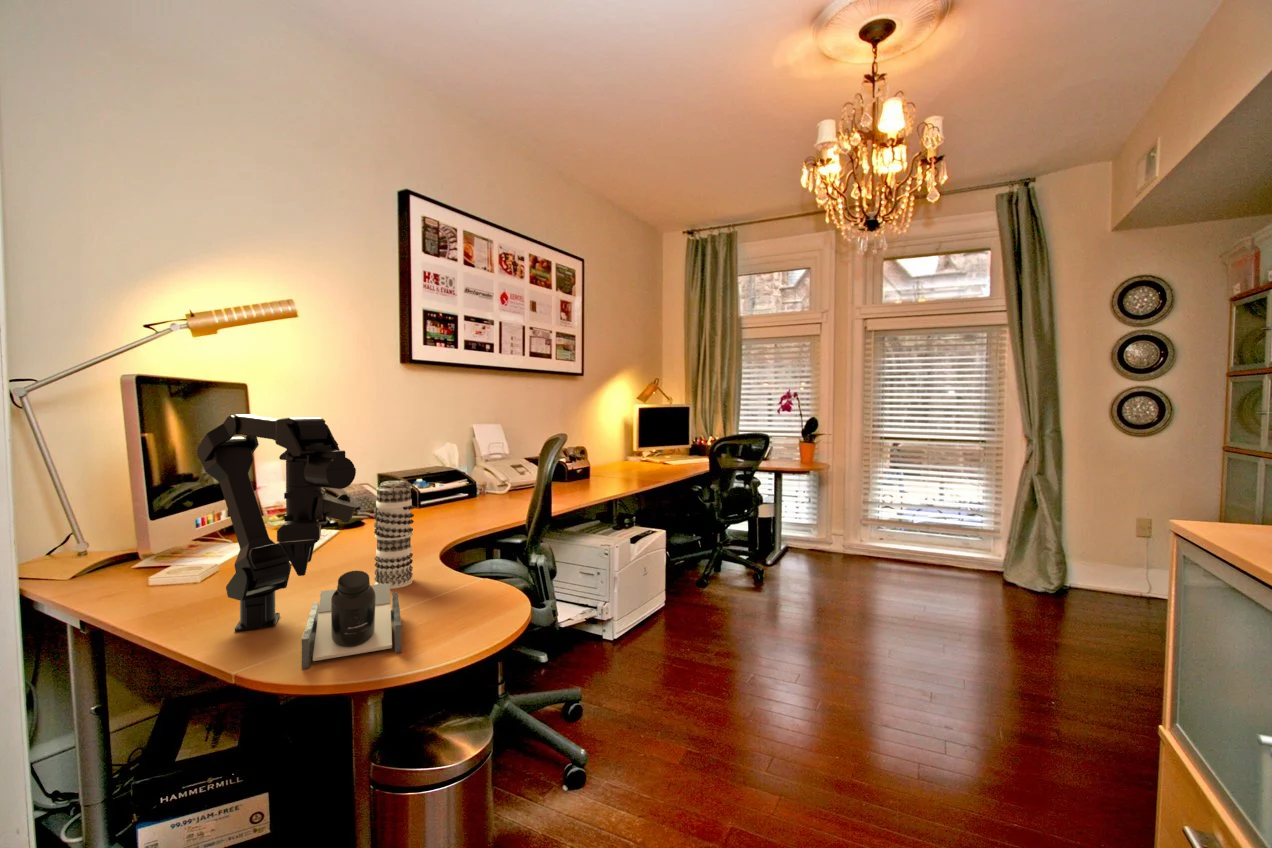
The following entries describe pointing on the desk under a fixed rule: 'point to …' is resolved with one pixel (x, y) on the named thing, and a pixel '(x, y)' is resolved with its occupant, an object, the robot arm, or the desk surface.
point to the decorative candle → (393, 534)
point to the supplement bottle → (353, 610)
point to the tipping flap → (378, 641)
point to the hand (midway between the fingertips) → (304, 568)
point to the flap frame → (311, 627)
